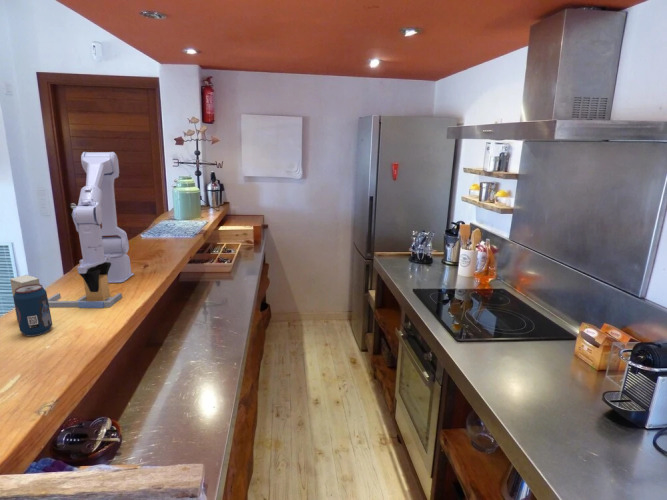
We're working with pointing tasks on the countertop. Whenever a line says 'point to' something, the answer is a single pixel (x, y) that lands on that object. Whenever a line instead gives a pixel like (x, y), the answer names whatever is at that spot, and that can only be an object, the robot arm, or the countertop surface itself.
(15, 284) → the skincare box
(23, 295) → the soda can
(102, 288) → the tan cardboard-colored block
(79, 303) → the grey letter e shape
